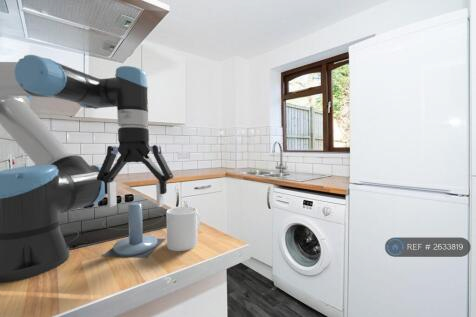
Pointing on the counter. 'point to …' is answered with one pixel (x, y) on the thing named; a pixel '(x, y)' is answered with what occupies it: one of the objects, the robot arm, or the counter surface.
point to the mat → (144, 255)
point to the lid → (135, 235)
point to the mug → (182, 228)
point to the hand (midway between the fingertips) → (136, 206)
